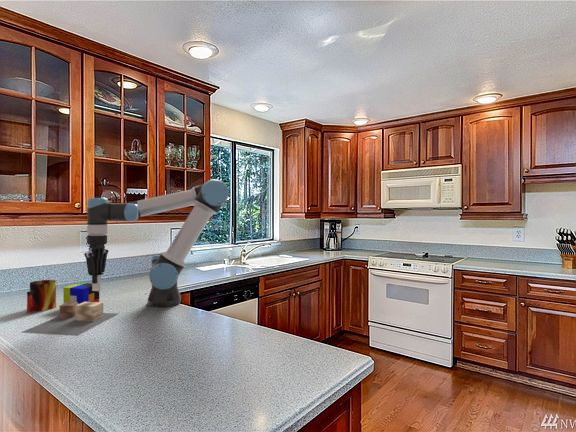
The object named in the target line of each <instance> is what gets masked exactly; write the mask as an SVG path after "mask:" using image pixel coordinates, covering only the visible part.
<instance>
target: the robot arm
mask: <svg viewBox="0 0 576 432" xmlns="http://www.w3.org/2000/svg"><path fill="white" fill-rule="evenodd" d="M228 198H229V187H228V186H227V184H226V183H224V182H223V181H222V180H219V179H216V178H214V179H209V180H207V181H206V182H205V183H202V184H199V185H195V186H193V187H192V188H191V189H188V190H183V191H179V192H174V193H169V194H168V193H167V194H163V195H159V196H155V197H154V196H153V197H149V198H144V199H140V200H134V201H130V202H125V203H123V202H119V203H118V202H117V203H116V202H114V203H113V202H109V200H108V198H107V197H106V198H105V197H89V198H88V200H87V208H86V217H87V218H86V219H87V223H86V224H87V225H86V227H87V229H86V234H88V235H87V236H86V244H87V245H88V246H89V247H88V251H87V252H85V253H83V255H84V257H85V261H86V266H87V274H88V275H89V276H91V283H92V291H99V292H100V291H101V289H102V288H101V287H102V286H101V285H102V283H101V282H102V281H101V279H102V276H103V275H104V273H105V271H106V265H107V259H108V258H107V257H108V255H109V254H108V253H109V249H106V246H105V245H106V244H107V243H108V235H107V234H108V222H109V221H110V222H112V221H118V222H135V221H138V219H139V218H140V217H146V216H150V215H156V214H159V213H165V212H168V211H173V210H177V209H182V208H187V207H191V206H194V207H193V208H192V210H191V211H190V213H189V214H188V216H187V218H186V220H185V221H184V223H183V224H182V225H181V227H180V229H179V230H178V233H176V236H175V237H174V239H173V240H172V242H171V244H170V245H169V247H168V248H167V250H166V251H162V252H161V253H160V254H159V255H153V256H152V257H151V268H150V271H149V273H148V278H149V281H150V284H151V288H150V291H149V294H148V296H147V305H148V306H149V307H152V308H153V307H155V308H161V307H162V308H167V307H172V306H177V305H179V304H180V303H181V302H182V296H181V293H180V290H179V288H178V279H179V276H180V275H181V272H183V270H184V268H185V266H186V265H185V260H186V258H187V257H188V254H190V251H191V250H192V248H193V247H194V245H195V243H196V242H197V240H198V238H199V237H200V235H201V234H202V232H203V230H204V229H205V227H206V225H207V224H208V223H209V221H210V219H211V217H212V216H213V215H216V214H218V212H219V211H220V209H221V208H222V206H223V204H225V203H226V202H227V200H228Z"/></svg>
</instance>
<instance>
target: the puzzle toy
mask: <svg viewBox="0 0 576 432" xmlns="http://www.w3.org/2000/svg"><path fill="white" fill-rule="evenodd" d="M62 290H63V303H65V302H78V304H80V303H83V302H100V291H92V282H89V283H88V282H79V283H75V284H71V285H67V286H64V287H63V288H62Z"/></svg>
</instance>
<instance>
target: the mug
mask: <svg viewBox="0 0 576 432" xmlns="http://www.w3.org/2000/svg"><path fill="white" fill-rule="evenodd" d="M56 307H57V280H55V279H41V280H34V281H31V282H29V291H27V292H26V313H27V314H31V313H32V312H45V311H49V310H53V309H55V308H56Z"/></svg>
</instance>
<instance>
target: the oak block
mask: <svg viewBox="0 0 576 432" xmlns="http://www.w3.org/2000/svg"><path fill="white" fill-rule="evenodd" d="M103 313H104V302H102V301H101V302H100V301H99V302H83V303H80V304H78V305H75V320H76V321H96V320H98V319H100V318H102V317H103Z"/></svg>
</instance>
